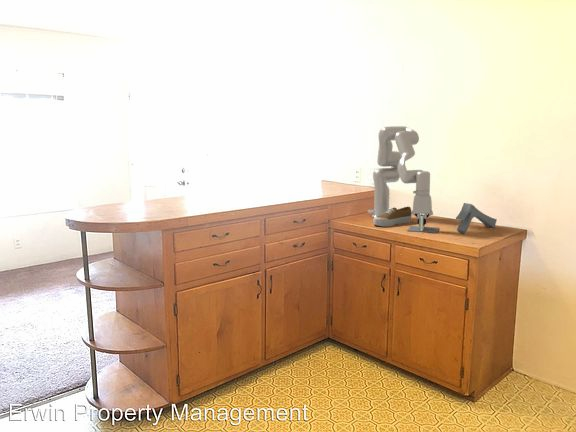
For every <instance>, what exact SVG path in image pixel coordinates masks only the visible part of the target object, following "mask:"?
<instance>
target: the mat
mask: <svg viewBox="0 0 576 432" xmlns="http://www.w3.org/2000/svg"><path fill="white" fill-rule="evenodd" d="M438 231H439V227H437V226H424V229H423V231H419V225H417V226H416V225H410V226H409V228H408V229H407V232H413V233H414V232H415V233H429V234H430V233H433V234H437V233H438Z"/></svg>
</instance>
